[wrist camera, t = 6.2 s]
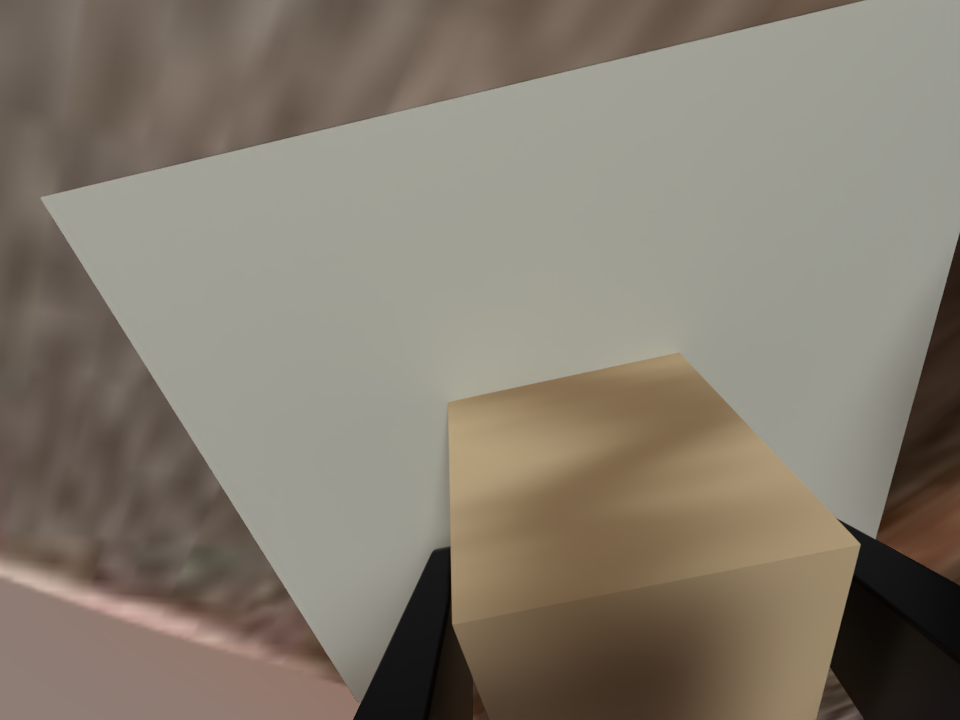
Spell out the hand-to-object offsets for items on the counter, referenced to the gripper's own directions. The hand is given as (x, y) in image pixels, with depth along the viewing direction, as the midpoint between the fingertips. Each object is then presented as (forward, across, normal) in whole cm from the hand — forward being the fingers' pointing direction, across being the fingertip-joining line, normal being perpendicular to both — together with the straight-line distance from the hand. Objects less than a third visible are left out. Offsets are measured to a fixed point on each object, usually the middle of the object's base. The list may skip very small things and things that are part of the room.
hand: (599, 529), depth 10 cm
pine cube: (+2, 0, 0) cm, 2 cm away
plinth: (+5, 0, 0) cm, 5 cm away
